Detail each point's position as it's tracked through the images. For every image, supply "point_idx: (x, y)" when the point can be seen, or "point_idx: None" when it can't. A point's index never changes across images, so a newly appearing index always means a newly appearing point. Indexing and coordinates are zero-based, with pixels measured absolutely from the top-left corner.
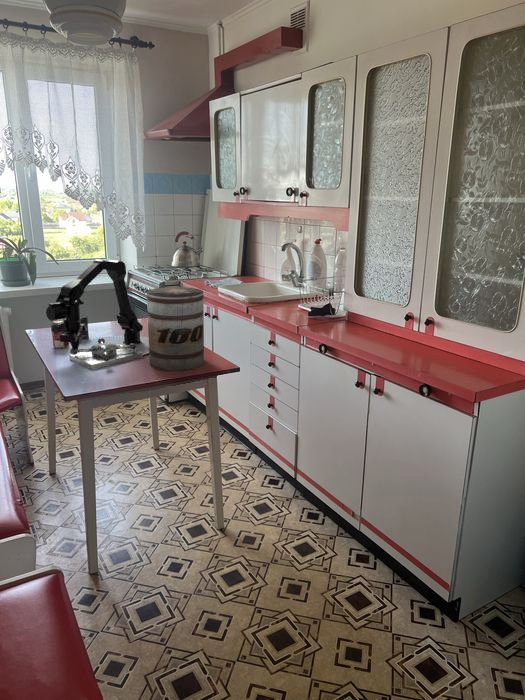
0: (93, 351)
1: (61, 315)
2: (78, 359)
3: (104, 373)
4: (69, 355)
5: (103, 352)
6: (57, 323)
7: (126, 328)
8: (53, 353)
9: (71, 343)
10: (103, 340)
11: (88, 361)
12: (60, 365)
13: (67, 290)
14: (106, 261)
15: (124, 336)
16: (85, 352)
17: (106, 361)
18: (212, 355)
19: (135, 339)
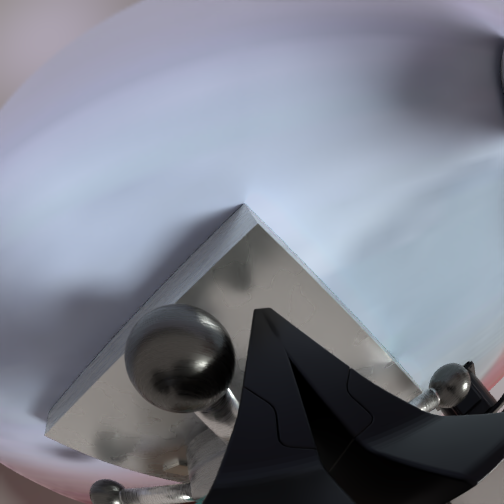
0: (208, 464)
1: None
2: (115, 358)
3: (40, 443)
4: (251, 222)
5: (183, 493)
6: None
7: (495, 410)
8: (425, 17)
9: (236, 440)
10: (439, 406)
11: (85, 423)
12: (30, 187)
13: None
14: None
15: (473, 395)
16: (327, 347)
17: (131, 468)
18: None
19: (444, 414)
